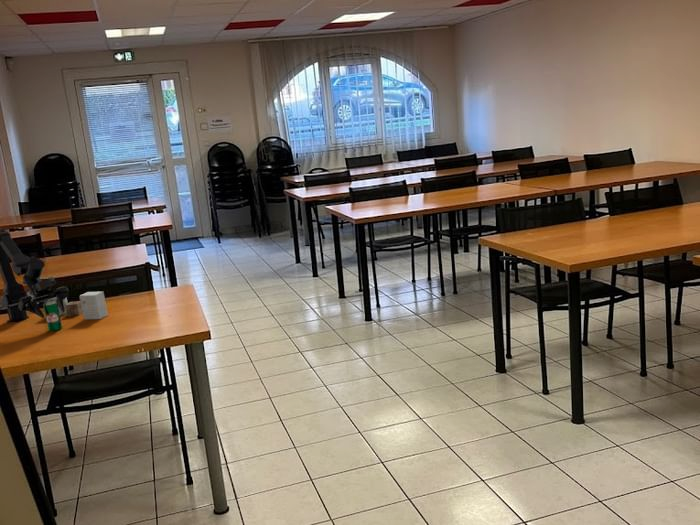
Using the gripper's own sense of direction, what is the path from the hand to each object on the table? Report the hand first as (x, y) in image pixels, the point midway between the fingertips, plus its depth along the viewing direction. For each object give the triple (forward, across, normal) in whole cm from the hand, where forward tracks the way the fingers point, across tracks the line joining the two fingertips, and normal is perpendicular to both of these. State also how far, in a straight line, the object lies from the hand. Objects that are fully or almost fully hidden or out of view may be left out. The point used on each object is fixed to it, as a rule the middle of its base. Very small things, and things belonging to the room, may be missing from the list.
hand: (54, 314), depth 259 cm
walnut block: (-6, +16, +16) cm, 24 cm away
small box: (+4, +17, +5) cm, 19 cm away
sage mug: (-12, +14, +21) cm, 28 cm away
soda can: (+4, 0, +6) cm, 7 cm away
